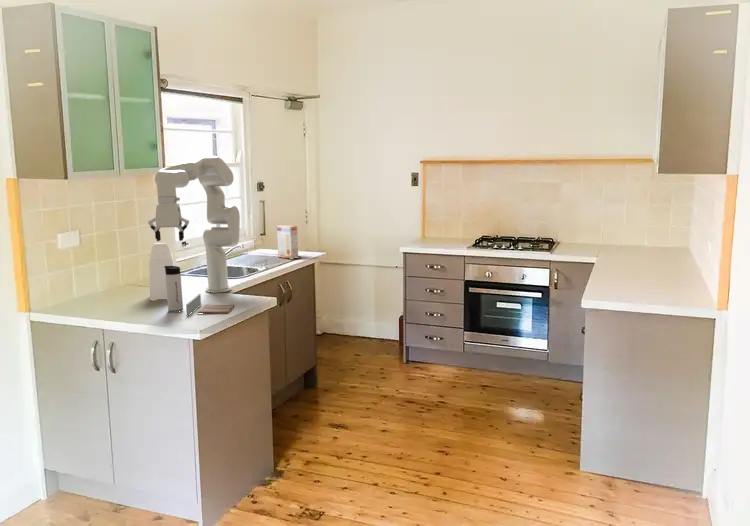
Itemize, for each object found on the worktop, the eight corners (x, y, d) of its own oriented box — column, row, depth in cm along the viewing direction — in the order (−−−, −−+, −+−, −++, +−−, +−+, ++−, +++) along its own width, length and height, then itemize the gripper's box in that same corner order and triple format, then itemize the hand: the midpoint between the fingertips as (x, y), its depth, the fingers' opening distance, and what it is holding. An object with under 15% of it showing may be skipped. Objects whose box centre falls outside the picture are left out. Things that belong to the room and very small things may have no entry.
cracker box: (298, 258, 425) (297, 226, 422) (291, 260, 421) (289, 226, 418) (285, 256, 435) (284, 224, 432) (278, 257, 431) (276, 225, 428)
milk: (177, 293, 328) (174, 241, 324) (176, 298, 317) (172, 244, 313) (152, 295, 326) (147, 242, 321) (150, 300, 315) (145, 245, 310)
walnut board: (205, 307, 299) (205, 304, 299) (234, 306, 299) (234, 304, 299) (197, 314, 286) (197, 311, 286) (228, 313, 286) (227, 311, 286)
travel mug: (170, 309, 296) (166, 264, 293) (185, 309, 296) (181, 264, 292) (165, 312, 290) (162, 267, 286) (180, 312, 290) (177, 267, 286)
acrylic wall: (199, 304, 304) (198, 294, 303) (201, 304, 304) (200, 294, 303) (186, 315, 284) (186, 304, 283) (188, 315, 284) (188, 304, 283)
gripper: (190, 199, 288) (192, 239, 291) (149, 200, 288) (152, 239, 291) (185, 200, 281) (187, 241, 284) (143, 201, 281) (146, 242, 284)
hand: (169, 240), depth 287 cm, fingers open, 9 cm apart
